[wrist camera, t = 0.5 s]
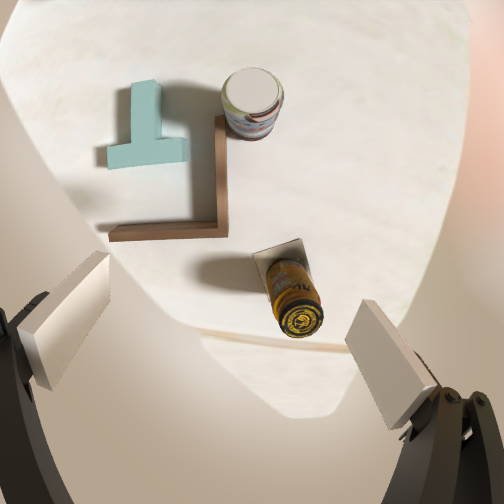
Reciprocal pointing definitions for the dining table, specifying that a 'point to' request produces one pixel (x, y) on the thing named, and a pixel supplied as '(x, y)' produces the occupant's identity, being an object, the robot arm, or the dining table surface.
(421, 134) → the dining table surface
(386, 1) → the dining table surface
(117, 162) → the t block
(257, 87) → the beverage can
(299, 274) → the condiment
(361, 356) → the robot arm
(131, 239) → the corner fence
